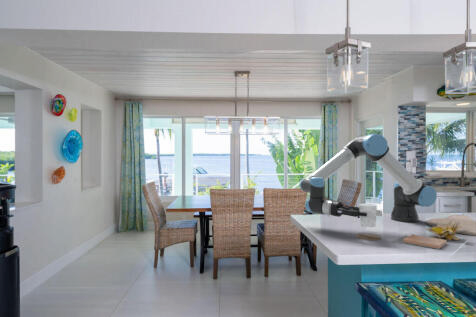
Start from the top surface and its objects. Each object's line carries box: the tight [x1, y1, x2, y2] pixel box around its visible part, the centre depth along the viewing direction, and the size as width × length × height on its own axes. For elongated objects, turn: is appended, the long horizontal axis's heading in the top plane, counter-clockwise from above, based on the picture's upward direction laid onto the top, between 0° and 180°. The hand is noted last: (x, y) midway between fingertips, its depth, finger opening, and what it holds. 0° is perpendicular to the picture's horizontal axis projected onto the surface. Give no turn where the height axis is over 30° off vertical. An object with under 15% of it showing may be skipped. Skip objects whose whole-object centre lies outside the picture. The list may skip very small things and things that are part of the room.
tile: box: [403, 234, 448, 250], centre depth 139 cm, size 12×2×14 cm
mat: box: [392, 235, 436, 250], centre depth 141 cm, size 16×17×1 cm
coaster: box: [355, 233, 382, 241], centre depth 150 cm, size 11×11×1 cm
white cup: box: [358, 203, 378, 228], centre depth 150 cm, size 8×8×10 cm
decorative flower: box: [425, 220, 463, 241], centre depth 149 cm, size 15×11×10 cm
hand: (378, 214), depth 146 cm, fingers closed on white cup, 7 cm apart
